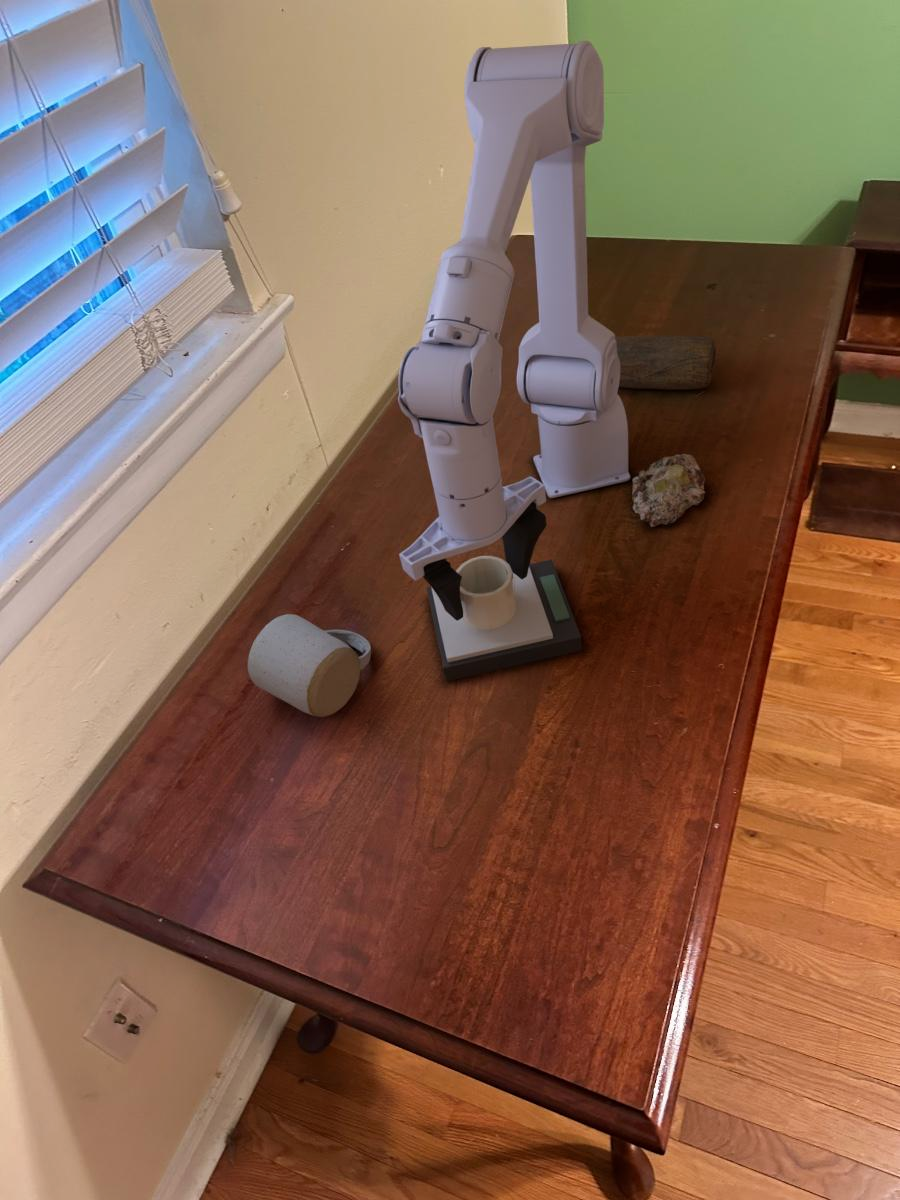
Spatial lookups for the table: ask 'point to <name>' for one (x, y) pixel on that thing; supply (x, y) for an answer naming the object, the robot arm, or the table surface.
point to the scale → (510, 629)
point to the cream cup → (487, 592)
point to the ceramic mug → (307, 664)
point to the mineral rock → (668, 489)
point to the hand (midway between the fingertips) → (486, 592)
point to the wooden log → (665, 362)
